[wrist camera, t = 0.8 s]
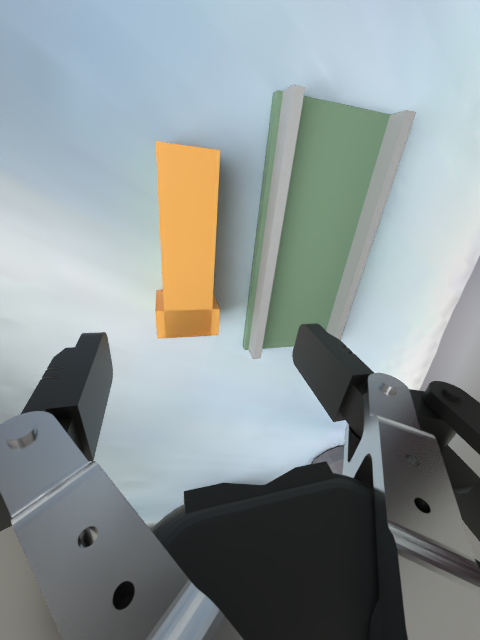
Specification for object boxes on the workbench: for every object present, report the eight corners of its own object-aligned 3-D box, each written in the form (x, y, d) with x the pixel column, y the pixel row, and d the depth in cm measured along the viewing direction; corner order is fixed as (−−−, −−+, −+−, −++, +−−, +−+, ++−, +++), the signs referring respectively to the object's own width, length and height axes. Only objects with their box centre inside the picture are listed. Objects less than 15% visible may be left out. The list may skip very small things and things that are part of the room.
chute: (147, 146, 22) (144, 139, 17) (217, 155, 23) (230, 151, 19) (158, 314, 29) (157, 338, 25) (210, 312, 31) (218, 335, 27)
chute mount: (273, 93, 22) (287, 83, 19) (394, 119, 25) (420, 113, 23) (242, 345, 34) (249, 359, 32) (327, 339, 38) (339, 351, 35)
